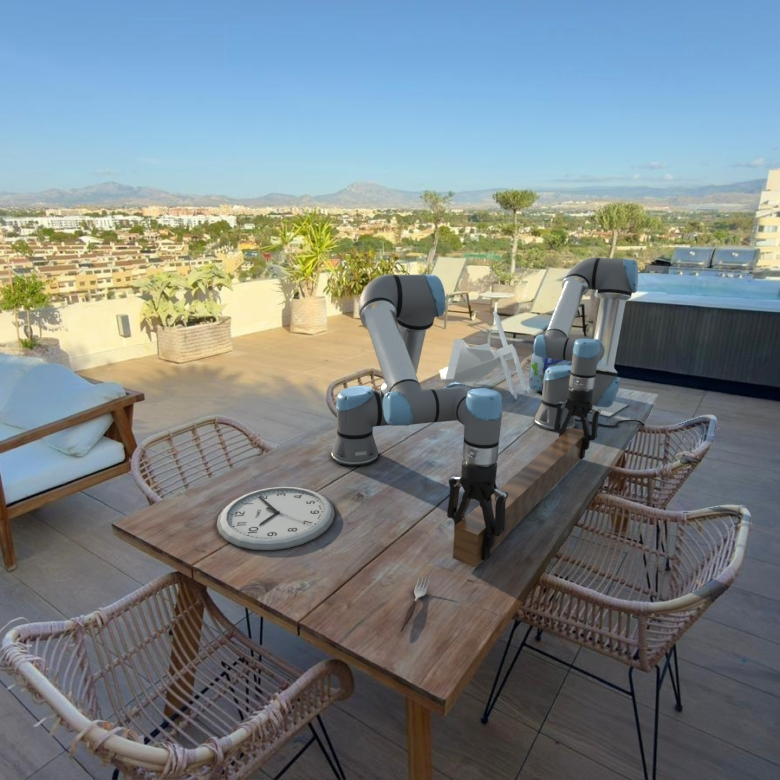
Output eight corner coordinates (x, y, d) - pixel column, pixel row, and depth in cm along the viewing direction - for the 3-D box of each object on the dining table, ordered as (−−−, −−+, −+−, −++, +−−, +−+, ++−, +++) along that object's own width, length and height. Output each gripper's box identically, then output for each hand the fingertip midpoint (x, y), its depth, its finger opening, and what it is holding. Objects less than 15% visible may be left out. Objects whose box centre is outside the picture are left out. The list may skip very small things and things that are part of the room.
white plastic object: (461, 429, 252) (437, 405, 227) (444, 352, 274) (420, 323, 250) (535, 404, 240) (518, 377, 215) (510, 326, 262) (492, 293, 237)
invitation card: (608, 416, 214) (573, 407, 224) (608, 416, 214) (573, 408, 224) (628, 404, 229) (594, 396, 238) (628, 405, 229) (594, 397, 238)
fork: (394, 632, 98) (394, 623, 98) (419, 581, 113) (419, 573, 112) (407, 636, 97) (407, 627, 97) (430, 584, 112) (431, 576, 111)
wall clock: (333, 542, 123) (202, 546, 121) (333, 547, 124) (203, 552, 121) (335, 482, 152) (229, 485, 149) (335, 487, 152) (230, 490, 150)
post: (567, 450, 177) (570, 427, 175) (584, 455, 174) (587, 431, 172) (452, 558, 119) (454, 525, 116) (475, 568, 115) (478, 535, 113)
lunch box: (545, 397, 238) (550, 352, 231) (524, 391, 245) (529, 348, 239) (572, 386, 255) (578, 344, 249) (552, 381, 262) (557, 340, 256)
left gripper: (433, 454, 115) (429, 544, 122) (513, 479, 105) (503, 576, 112) (450, 443, 121) (445, 530, 128) (528, 466, 111) (518, 559, 117)
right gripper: (547, 385, 168) (540, 451, 175) (608, 396, 157) (598, 466, 164) (556, 380, 174) (548, 444, 181) (615, 391, 163) (604, 458, 170)
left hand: (472, 552), depth 120 cm, fingers closed on post, 6 cm apart
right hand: (572, 454), depth 172 cm, fingers closed on post, 6 cm apart
